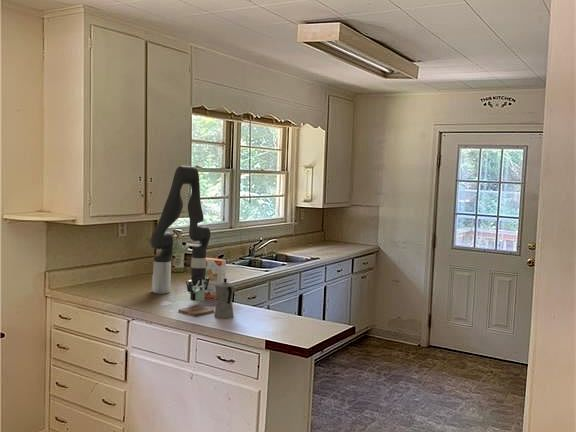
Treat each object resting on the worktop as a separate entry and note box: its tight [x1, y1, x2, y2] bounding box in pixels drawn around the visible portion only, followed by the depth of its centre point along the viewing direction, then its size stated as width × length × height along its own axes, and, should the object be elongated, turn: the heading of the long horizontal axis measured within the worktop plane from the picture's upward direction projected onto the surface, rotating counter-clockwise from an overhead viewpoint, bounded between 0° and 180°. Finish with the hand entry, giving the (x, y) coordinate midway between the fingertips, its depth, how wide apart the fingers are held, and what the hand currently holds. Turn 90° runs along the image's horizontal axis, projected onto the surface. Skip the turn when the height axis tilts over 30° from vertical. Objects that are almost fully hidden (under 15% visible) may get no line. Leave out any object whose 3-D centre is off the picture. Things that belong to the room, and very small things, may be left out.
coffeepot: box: [214, 277, 236, 320], centre depth 267 cm, size 15×9×18 cm, turn 24°
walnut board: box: [178, 304, 215, 318], centre depth 274 cm, size 12×12×1 cm
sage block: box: [189, 289, 205, 303], centre depth 288 cm, size 5×5×5 cm
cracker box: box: [197, 257, 227, 300], centre depth 306 cm, size 14×6×21 cm, turn 73°
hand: (197, 299), depth 288 cm, fingers closed on sage block, 5 cm apart
